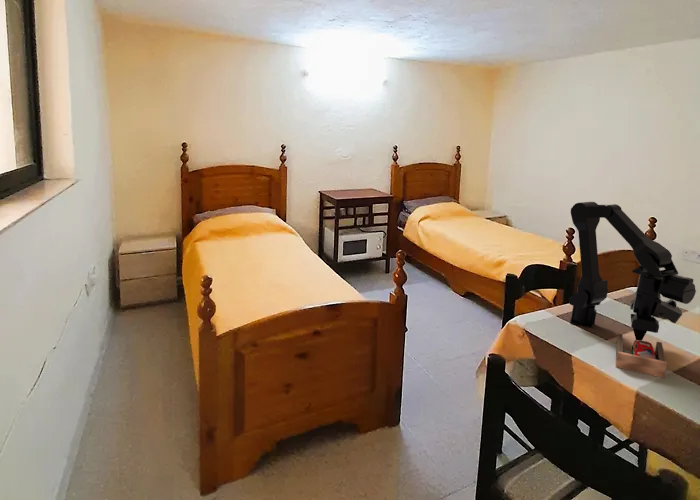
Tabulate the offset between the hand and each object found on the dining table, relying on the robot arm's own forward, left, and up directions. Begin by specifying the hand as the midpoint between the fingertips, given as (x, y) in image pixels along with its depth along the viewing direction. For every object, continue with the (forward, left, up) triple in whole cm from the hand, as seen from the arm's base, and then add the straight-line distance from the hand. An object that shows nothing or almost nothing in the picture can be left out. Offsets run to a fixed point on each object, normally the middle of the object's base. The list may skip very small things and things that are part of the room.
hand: (638, 341), depth 135 cm
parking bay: (0, -8, -2) cm, 8 cm away
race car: (+1, -7, -2) cm, 7 cm away
